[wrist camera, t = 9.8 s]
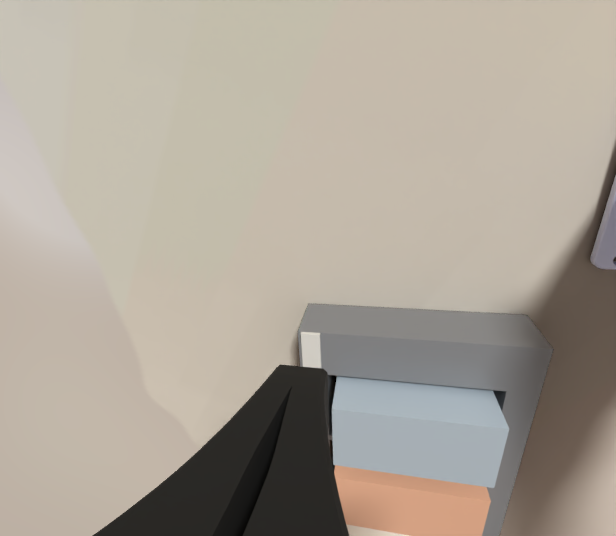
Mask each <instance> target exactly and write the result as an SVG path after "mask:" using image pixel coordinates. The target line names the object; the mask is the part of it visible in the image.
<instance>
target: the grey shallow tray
mask: <svg viewBox="0 0 616 536" xmlns="http://www.w3.org/2000/svg"><path fill="white" fill-rule="evenodd" d="M298 342H299V356H300V367H311V368H323V369H324V370H325V371H326V372H327V373H328V403H329V428H328V441H329V447H330V453H331V459H332V464H333V437H332V404H333V398H334V392H335V375H336V376H346V377H357V378H368V379H379V380H390V381H400V382H411V383H422V384H433V385H443V386H454V387H465V388H476V389H486V390H493V392H494V394H495V397H496V399H497V401H498V404H499V406H500V408H501V411H502V413H503V415H504V418H505V420H506V423H507V425H508V427H509V432H508V436H507V440H506V444H505V448H504V452H503V456H502V460H501V464H500V467H499V471H498V475H497V479H496V483H495V487H494V488H490V487H487V490H488V493H489V497H490V500H491V503H490V506H489V510H488V514H487V518H486V522H485V526H484V530H483V534H482V536H499V535H500V532H501V528H502V525H503V521H504V518H505V514H506V511H507V508H508V504H509V501H510V497H511V494H512V490H513V487H514V483H515V480H516V477H517V473H518V470H519V466H520V463H521V459H522V456H523V452H524V449H525V446H526V442H527V439H528V435H529V432H530V428H531V425H532V421H533V418H534V415H535V411H536V408H537V404H538V401H539V397H540V394H541V390H542V387H543V384H544V380H545V377H546V373H547V370H548V366H549V363H550V359H551V356H552V353H553V348H552V346H551V345H550V344H549V343H548V341H547V340H546V339H545V337H544V336H543V335H542V333H541V332H540V331H539V330H538V328H537V327H536V326H535V324H534V323H533V322H532V321H531V319H530V318H529V317H528V315H519V314H500V313H480V312H461V311H442V310H423V309H403V308H384V307H365V306H346V305H326V304H308V306H307V309H306V311H305V314H304V316H303V319H302V322H301V324H300V327H299V329H298ZM333 469H334V470H335V465H333Z"/></svg>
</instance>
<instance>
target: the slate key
mask: <svg viewBox="0 0 616 536" xmlns="http://www.w3.org/2000/svg"><path fill="white" fill-rule="evenodd" d="M508 432H509V427H508V425H507V423H506V420H505V418H504V415H503V413H502V411H501V408H500V406H499V404H498V401H497V399H496V397H495V394H494V392H493V390H486V389H476V388H465V387H454V386H443V385H433V384H422V383H411V382H400V381H390V380H379V379H368V378H357V377H346V376H337V380H336V386H335V392H334V398H333V404H332V437H333V465H338V466H345V467H352V468H359V469H365V470H372V471H379V472H386V473H393V474H400V475H407V476H414V477H421V478H428V479H434V480H441V481H448V482H455V483H462V484H469V485H476V486H483V487H490V488H494V487H495V483H496V479H497V475H498V471H499V467H500V464H501V460H502V456H503V452H504V448H505V444H506V440H507V436H508Z"/></svg>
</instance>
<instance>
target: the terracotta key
mask: <svg viewBox="0 0 616 536" xmlns="http://www.w3.org/2000/svg"><path fill="white" fill-rule="evenodd" d="M334 475H335V479H336V484H337V489H338V493H339V497H340V502H341V506H342V510H343V514H344V518H345V522H346V524H347V525H353V526H359V527H364V528H370V529H376V530H381V531H387V532H392V533H398V534H404V535H409V536H482V534H483V530H484V526H485V522H486V518H487V514H488V510H489V506H490V503H491V500H490V497H489V493H488V490H487V487H483V486H476V485H469V484H462V483H455V482H448V481H441V480H434V479H428V478H421V477H414V476H407V475H400V474H393V473H386V472H379V471H372V470H365V469H359V468H352V467H345V466H338V465H335V470H334Z"/></svg>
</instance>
